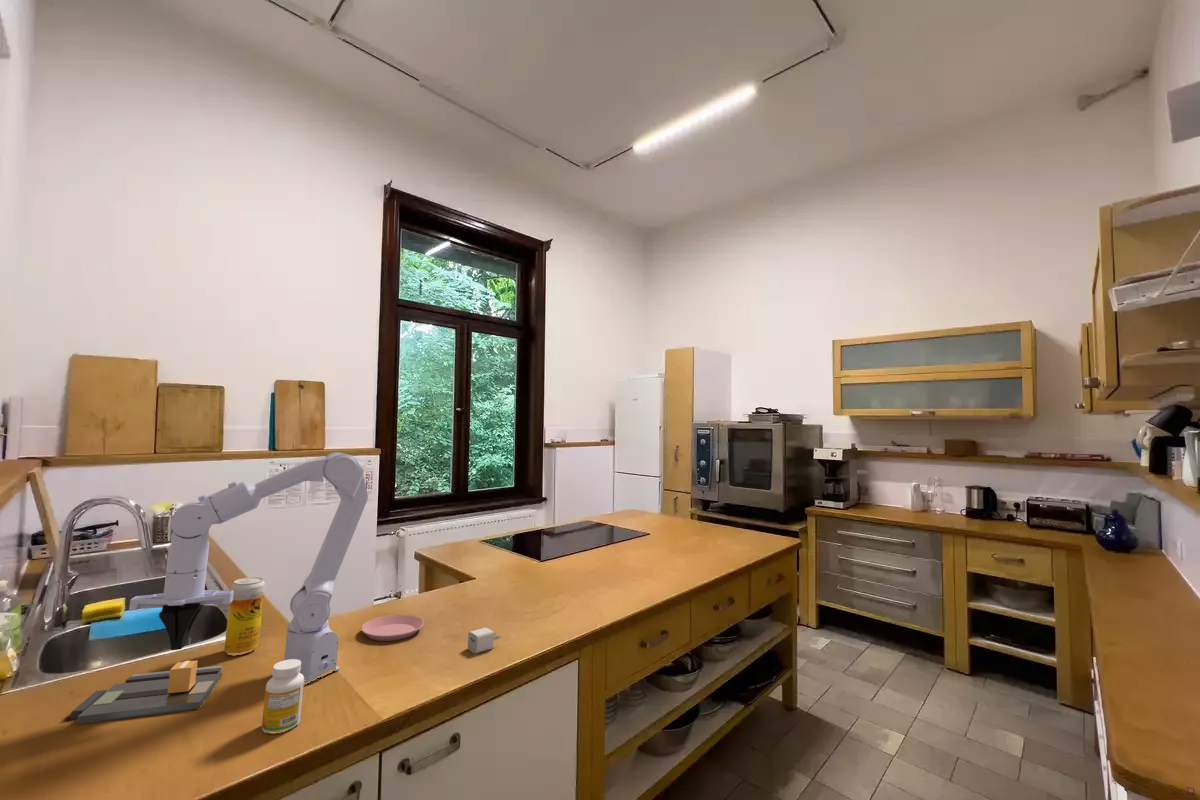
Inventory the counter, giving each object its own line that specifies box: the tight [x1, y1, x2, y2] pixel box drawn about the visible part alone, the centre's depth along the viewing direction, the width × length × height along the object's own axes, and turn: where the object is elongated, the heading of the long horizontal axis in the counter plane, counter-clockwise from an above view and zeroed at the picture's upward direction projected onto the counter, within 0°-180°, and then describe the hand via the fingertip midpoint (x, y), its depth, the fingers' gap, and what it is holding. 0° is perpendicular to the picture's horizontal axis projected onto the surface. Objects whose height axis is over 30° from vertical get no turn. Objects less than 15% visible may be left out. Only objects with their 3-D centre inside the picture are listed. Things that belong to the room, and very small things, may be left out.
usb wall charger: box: [467, 627, 502, 654], centre depth 115 cm, size 4×7×4 cm, turn 135°
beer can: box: [223, 576, 266, 654], centre depth 108 cm, size 6×6×15 cm
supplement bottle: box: [261, 659, 305, 732], centre depth 81 cm, size 5×5×10 cm
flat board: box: [70, 665, 224, 720], centre depth 89 cm, size 17×13×1 cm
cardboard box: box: [167, 660, 198, 694], centre depth 88 cm, size 3×3×4 cm
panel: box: [76, 672, 223, 725], centre depth 87 cm, size 16×11×1 cm
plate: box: [360, 614, 425, 642], centre depth 122 cm, size 14×14×2 cm
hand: (178, 647), depth 88 cm, fingers closed
